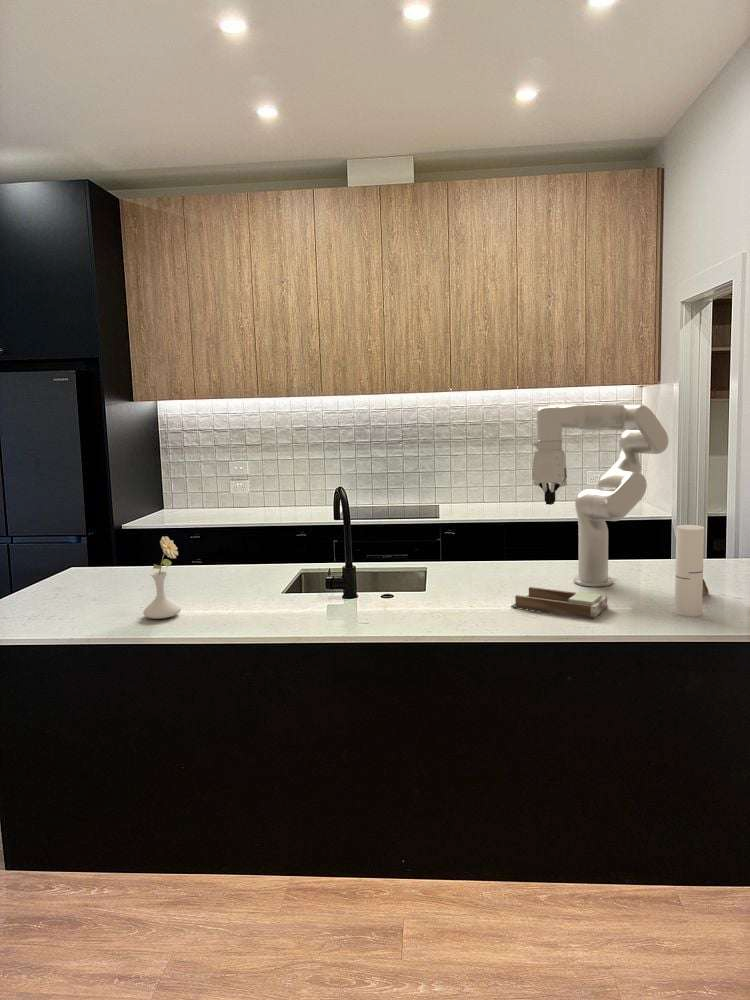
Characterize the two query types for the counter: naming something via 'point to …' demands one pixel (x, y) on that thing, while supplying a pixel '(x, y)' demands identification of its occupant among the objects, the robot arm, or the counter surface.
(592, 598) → the sage block
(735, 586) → the counter surface
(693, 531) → the cylindrical container
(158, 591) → the flower in vase
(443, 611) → the counter surface
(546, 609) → the brown wooden tray
